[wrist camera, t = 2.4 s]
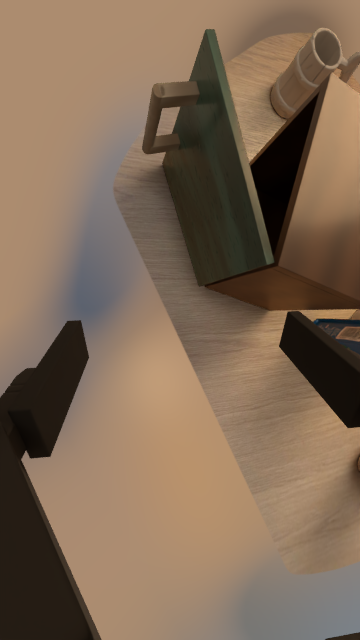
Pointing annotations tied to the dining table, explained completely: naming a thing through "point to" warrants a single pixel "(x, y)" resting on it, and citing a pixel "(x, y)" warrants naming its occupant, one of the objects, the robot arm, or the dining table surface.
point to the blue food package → (342, 331)
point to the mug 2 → (356, 315)
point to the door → (209, 170)
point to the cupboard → (309, 208)
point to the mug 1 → (311, 71)
